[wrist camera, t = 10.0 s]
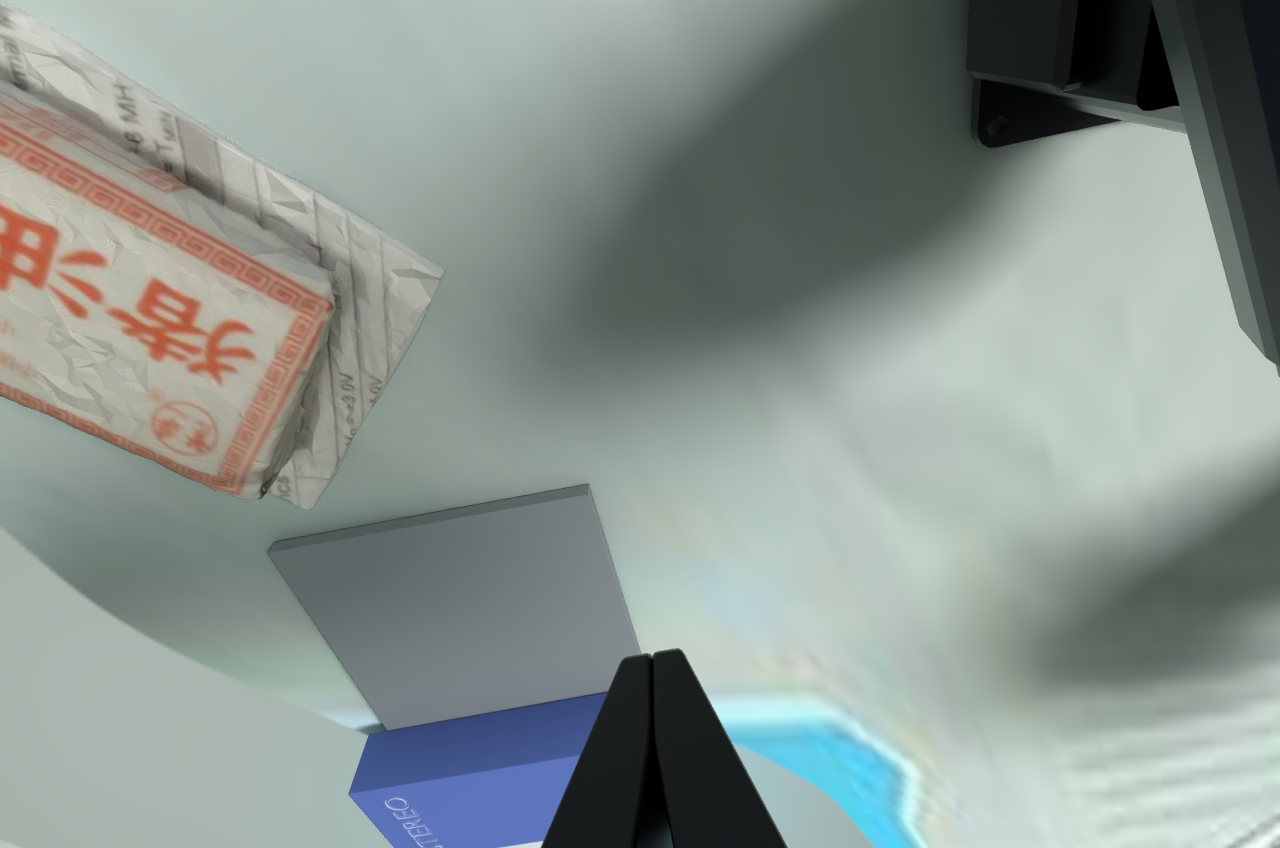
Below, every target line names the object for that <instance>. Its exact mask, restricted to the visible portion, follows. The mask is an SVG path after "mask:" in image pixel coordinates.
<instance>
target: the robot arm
mask: <svg viewBox="0 0 1280 848" xmlns="http://www.w3.org/2000/svg"><path fill="white" fill-rule="evenodd" d="M966 69H967V71H968V72H970V73H971V74H972V75H973V76H974V80H973V99H972V118H971V134H972V137H973V139H974V140H975V142H976V143H979V144H981V145H983V146H986V147H989V148H993V147H1000V146H1005V145H1010V144H1014V143H1019V142H1024V141H1028V140H1033V139H1037V138H1042V137H1047V136H1051V135H1056V134H1061V133H1065V132H1070V131H1074V130H1079V129H1084V128H1088V127H1093V126H1098V125H1102V124H1107V123H1111V122H1116V121H1121V120H1124V121H1129V122H1134V123H1138V124H1143V125H1148V126H1153V127H1158V128H1162V129H1167V130H1172V131H1177V132H1182V133H1186V134H1188V138H1189V142H1190V145H1191V149H1192V153H1193V156H1194V160H1195V164H1196V167H1197V171H1198V175H1199V179H1200V182H1201V186H1202V190H1203V193H1204V197H1205V201H1206V204H1207V208H1208V212H1209V215H1210V219H1211V223H1212V227H1213V230H1214V234H1215V238H1216V241H1217V245H1218V249H1219V252H1220V256H1221V260H1222V264H1223V267H1224V271H1225V275H1226V278H1227V282H1228V286H1229V289H1230V293H1231V297H1232V300H1233V304H1234V308H1235V312H1236V315H1237V319H1238V323H1239V326H1240V327H1241V329H1242V330H1243V331H1244V332H1245V333H1246V335H1247V336H1248V337H1249V338H1250V339H1251V341H1252V342H1253V343H1254V344H1255V345H1256V346H1257V348H1258V349H1259V350H1260V351H1261V352H1262V354H1263V355H1264V356H1265V357H1266V358H1267V359H1269V360H1270V361H1272V362H1273V363H1275V364H1276V367H1277V371H1278V375H1279V377H1280V0H969V17H968V38H967V59H966ZM996 117H999V120H1000V125H999V128H998V130H997V131H996V132H995V133H994V134H992V135H988V131H987V129H988V126H989V123H990V122H991V121H992V120H993V119H994V118H996ZM541 848H788V847H787V845H786V844H785V842H784V840H783V838H782V836H781V834H780V832H779V830H778V829H777V827H776V825H775V823H774V821H773V819H772V817H771V815H770V813H769V812H768V810H767V808H766V806H765V804H764V802H763V801H762V798H761V797H760V795H759V793H758V791H757V789H756V787H755V785H754V783H753V782H752V780H751V778H750V776H749V774H748V773H747V770H746V769H745V767H744V765H743V763H742V761H741V759H740V757H739V755H738V754H737V752H736V750H735V748H734V746H733V744H732V742H731V740H730V738H729V737H728V735H727V733H726V731H725V729H724V727H723V725H722V723H721V722H720V720H719V718H718V716H717V714H716V712H715V710H714V709H713V707H712V705H711V703H710V701H709V699H708V697H707V695H706V694H705V692H704V690H703V688H702V686H701V684H700V682H699V680H698V679H697V677H696V675H695V673H694V671H693V669H692V667H691V665H690V664H689V662H688V660H687V658H686V656H685V654H684V652H683V651H682V650H681V649H679V648H676V649H670V650H663V651H657V652H655V653H654V654H653V657H652V655H651V654H648V653H645V654H639V655H633V656H627V657H625V658H623V659H622V661H621V662H620V664H619V666H618V669H617V671H616V673H615V676H614V678H613V680H612V683H611V685H610V687H609V690H608V692H607V694H606V697H605V699H604V701H603V704H602V706H601V708H600V711H599V713H598V715H597V718H596V720H595V722H594V725H593V727H592V729H591V731H590V734H589V736H588V738H587V741H586V743H585V745H584V748H583V750H582V752H581V755H580V757H579V759H578V762H577V764H576V766H575V769H574V771H573V773H572V776H571V778H570V780H569V783H568V785H567V787H566V790H565V792H564V794H563V797H562V799H561V801H560V804H559V806H558V808H557V811H556V813H555V815H554V818H553V820H552V822H551V825H550V827H549V829H548V832H547V834H546V836H545V839H544V841H543V843H542V846H541Z"/></svg>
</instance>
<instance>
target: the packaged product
mask: <svg viewBox="0 0 1280 848" xmlns="http://www.w3.org/2000/svg"><path fill="white" fill-rule="evenodd" d="M443 272H444V270H443V269H442V268H440V267H439V266H437V265H435V264H434V263H432V262H431V261H429V260H428V259H426V258H425V257H423V256H421V255H420V254H418V253H417V252H415V251H414V250H412V249H411V248H409V247H408V246H406V245H405V244H403V243H401V242H400V241H398V240H397V239H395V238H394V237H392V236H391V235H389V234H387V233H386V232H384V231H382V230H381V229H379V228H377V227H376V226H374V225H372V224H370V223H369V222H367V221H365V220H364V219H362V218H360V217H359V216H357V215H355V214H354V213H352V212H350V211H349V210H347V209H345V208H344V207H342V206H340V205H338V204H337V203H335V202H333V201H332V200H330V199H328V198H327V197H325V196H323V195H322V194H320V193H318V192H317V191H315V190H313V189H311V188H309V187H307V186H306V185H304V184H302V183H300V182H298V181H296V180H294V179H292V178H291V177H289V176H287V175H285V174H283V173H281V172H279V171H277V170H275V169H274V168H272V167H271V166H269V165H267V164H266V163H264V162H263V161H261V160H260V159H258V158H256V157H255V156H253V155H252V154H250V153H248V152H247V151H245V150H244V149H242V148H241V147H239V146H237V145H236V144H234V143H233V142H231V141H229V140H228V139H226V138H225V137H223V136H222V135H220V134H218V133H217V132H215V131H214V130H212V129H211V128H209V127H207V126H206V125H204V124H203V123H201V122H199V121H198V120H196V119H195V118H193V117H192V116H190V115H188V114H187V113H185V112H184V111H182V110H180V109H179V108H177V107H176V106H174V105H173V104H171V103H169V102H168V101H166V100H165V99H163V98H161V97H160V96H158V95H156V94H155V93H153V92H151V91H149V90H148V89H146V88H144V87H143V86H141V85H139V84H138V83H136V82H134V81H133V80H131V79H130V78H128V77H127V76H125V75H124V74H123V73H121V72H120V71H118V70H117V69H115V68H114V67H112V66H111V65H109V64H108V63H106V62H105V61H103V60H102V59H100V58H99V57H98V56H96V55H95V54H93V53H92V52H90V51H89V50H87V49H86V48H84V47H83V46H81V45H80V44H78V43H77V42H75V41H74V40H72V39H71V38H69V37H67V36H65V35H64V34H62V33H60V32H59V31H57V30H55V29H53V28H52V27H49V26H47V25H45V24H43V23H41V22H40V21H39V20H38V19H37V18H36V17H34V16H32V15H30V14H29V13H27V12H25V11H23V10H21V9H19V8H17V7H16V6H14V5H12V4H10V3H8V2H6V1H4V0H0V396H1V397H4V398H7V399H9V400H12V401H14V402H16V403H18V404H20V405H22V406H25V407H28V408H31V409H35V410H38V411H40V412H43V413H45V414H47V415H50V416H52V417H55V418H56V419H58V420H60V421H62V422H64V423H66V424H68V425H70V426H72V427H73V428H76V429H78V430H81V431H83V432H86V433H88V434H90V435H93V436H95V437H98V438H100V439H103V440H105V441H107V442H109V443H111V444H113V445H115V446H117V447H120V448H122V449H124V450H126V451H129V452H131V453H134V454H136V455H139V456H142V457H145V458H148V459H151V460H154V461H156V462H157V463H159V464H161V465H162V466H164V467H166V468H167V469H170V470H172V471H174V472H176V473H178V474H180V475H182V476H184V477H186V478H188V479H191V480H194V481H197V482H200V483H202V484H204V485H206V486H208V487H209V488H211V489H213V490H215V491H220V492H225V493H228V494H230V495H232V496H234V497H236V498H238V499H262V497H263V496H264V495H265V494H266V493H267V492H269V493H271V494H273V495H275V496H278V497H280V498H282V499H285V500H286V501H288V502H290V503H292V504H293V505H295V506H297V507H300V508H302V509H304V510H311V509H312V508H313V506H314V505H315V503H316V502H317V500H318V499H319V497H320V496H321V494H322V493H323V491H324V490H325V488H326V487H327V486H328V484H329V483H330V481H331V480H332V478H333V477H334V475H335V474H336V472H337V470H338V468H339V466H340V464H341V462H342V460H343V458H344V456H345V453H346V451H347V449H348V447H349V445H350V443H351V441H352V439H353V436H354V434H355V433H356V431H357V430H358V428H359V427H360V425H361V424H362V422H363V421H364V419H365V418H366V416H367V415H368V413H369V412H370V410H371V409H372V407H373V406H374V404H375V403H376V401H377V400H378V398H379V397H380V395H381V393H382V392H383V390H384V388H385V387H386V385H387V383H388V381H389V380H390V378H391V376H392V375H393V373H394V371H395V369H396V368H397V366H398V364H399V363H400V361H401V359H402V357H403V356H404V354H405V352H406V351H407V349H408V347H409V346H410V344H411V342H412V340H413V339H414V337H415V335H416V334H417V332H418V330H419V327H420V325H421V323H422V320H423V318H424V316H425V313H426V311H427V309H428V306H429V304H430V302H431V300H432V297H433V295H434V293H435V291H436V289H437V287H438V285H439V282H440V280H441V278H442V275H443Z"/></svg>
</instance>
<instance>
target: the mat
mask: <svg viewBox="0 0 1280 848" xmlns="http://www.w3.org/2000/svg"><path fill="white" fill-rule="evenodd" d="M267 554H268V555H269V557H270V558H271V560H272V561H273V563H274V564H275V566H276V567H277V569H278V570H279V572H280V573H281V575H282V576H283V578H284V579H285V581H286V582H287V583H288V585H289V586H290V588H291V589H292V591H293V592H294V594H295V595H296V597H297V598H298V600H299V601H300V603H301V604H302V606H303V607H304V609H305V610H306V612H307V613H308V615H309V616H310V617H311V619H312V620H313V622H314V623H315V625H316V626H317V628H318V629H319V631H320V632H321V634H322V635H323V637H324V638H325V640H326V641H327V643H328V644H329V646H330V647H331V648H332V650H333V651H334V653H335V654H336V656H337V657H338V659H339V660H340V662H341V663H342V665H343V666H344V668H345V669H346V671H347V672H348V674H349V675H350V677H351V678H352V680H353V681H354V682H355V684H356V685H357V687H358V688H359V690H360V691H361V693H362V694H363V696H364V697H365V699H366V700H367V702H368V703H369V705H370V706H371V708H372V709H373V711H374V712H375V714H376V715H377V716H378V718H379V719H380V721H381V722H382V724H383V725H384V727H385V728H386V730H387V731H392V730H398V729H403V728H409V727H415V726H420V725H426V724H432V723H437V722H443V721H449V720H454V719H460V718H466V717H471V716H477V715H483V714H488V713H494V712H500V711H505V710H511V709H517V708H522V707H528V706H534V705H539V704H545V703H551V702H556V701H562V700H568V699H573V698H579V697H585V696H590V695H596V694H601V693H607V692H608V690H609V687H610V685H611V683H612V680H613V678H614V676H615V673H616V671H617V669H618V666H619V664H620V662H621V661H622V659H623V658H625V657H627V656H633V655H639V654H641V651H640V648H639V645H638V642H637V638H636V635H635V632H634V629H633V626H632V622H631V619H630V616H629V613H628V609H627V606H626V603H625V600H624V596H623V593H622V590H621V587H620V584H619V580H618V577H617V574H616V571H615V567H614V564H613V561H612V558H611V554H610V551H609V548H608V545H607V541H606V538H605V535H604V532H603V529H602V525H601V522H600V519H599V516H598V512H597V509H596V506H595V503H594V499H593V496H592V493H591V490H590V486H589V484H586V485H580V486H575V487H570V488H564V489H559V490H553V491H548V492H543V493H537V494H532V495H526V496H521V497H515V498H510V499H505V500H499V501H494V502H488V503H483V504H478V505H472V506H467V507H461V508H456V509H450V510H445V511H440V512H434V513H429V514H423V515H418V516H413V517H407V518H402V519H396V520H391V521H386V522H380V523H375V524H369V525H364V526H358V527H353V528H348V529H342V530H337V531H331V532H326V533H321V534H315V535H310V536H304V537H299V538H293V539H288V540H283V541H277V542H274V543H273V545H272V546H271V548H270V549H269V551H268V552H267Z"/></svg>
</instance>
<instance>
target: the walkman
mask: <svg viewBox="0 0 1280 848" xmlns="http://www.w3.org/2000/svg"><path fill="white" fill-rule="evenodd" d="M606 694H607V693H601V694H596V695H590V696H585V697H579V698H573V699H568V700H562V701H556V702H551V703H545V704H539V705H534V706H528V707H522V708H517V709H511V710H505V711H500V712H494V713H488V714H483V715H477V716H471V717H466V718H460V719H454V720H449V721H443V722H437V723H432V724H426V725H420V726H415V727H409V728H403V729H398V730H392V731H386V732H381V733H375V734H370V735H369V736H368V739H367V742H366V745H365V748H364V751H363V753H362V757H361V759H360V762H359V765H358V768H357V771H356V774H355V777H354V779H353V782H352V785H351V788H350V791H349V796H350V797H351V798H352V799H353V801H354V802H355V803H356V804H357V805H358V806H359V808H360V809H361V810H362V811H363V812H364V813H365V815H366V816H367V817H368V818H369V819H370V820H371V821H372V823H373V824H374V825H375V826H376V827H377V828H378V829H379V831H380V832H381V833H382V834H383V835H384V837H385V838H386V839H387V840H388V841H389V842H390V843H391V845H392V846H393V847H394V848H541V846H542V843H543V841H544V839H545V836H546V834H547V832H548V829H549V827H550V825H551V822H552V820H553V818H554V815H555V813H556V811H557V808H558V806H559V804H560V801H561V799H562V797H563V794H564V792H565V790H566V787H567V785H568V783H569V780H570V778H571V776H572V773H573V771H574V769H575V766H576V764H577V762H578V759H579V757H580V755H581V752H582V750H583V748H584V745H585V743H586V741H587V738H588V736H589V734H590V731H591V729H592V727H593V725H594V722H595V720H596V718H597V715H598V713H599V711H600V708H601V706H602V704H603V701H604V699H605V697H606Z"/></svg>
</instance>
